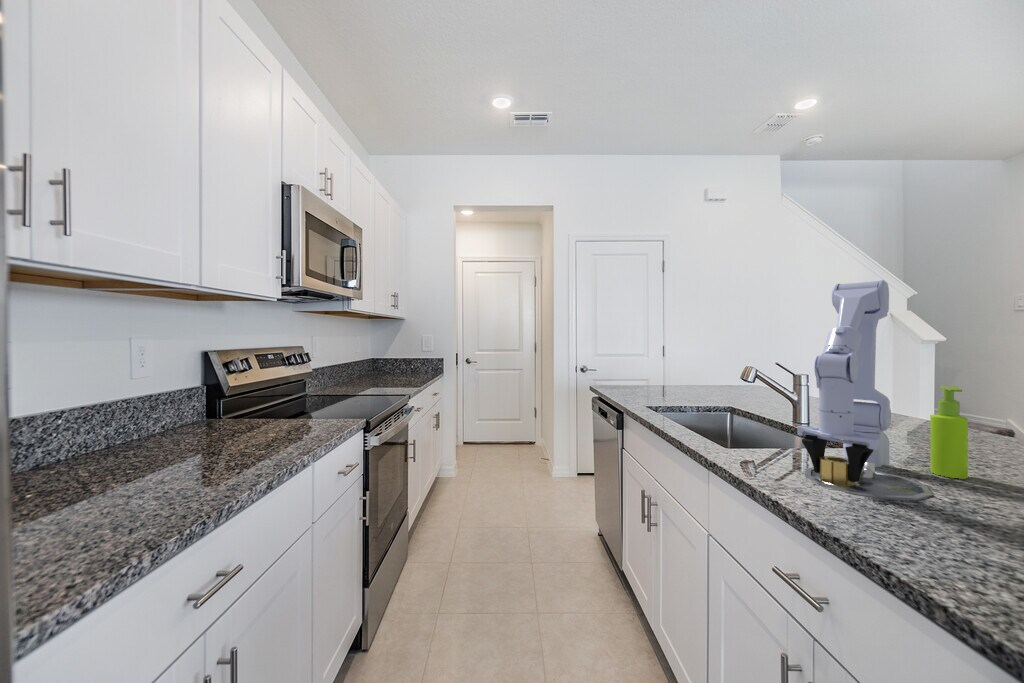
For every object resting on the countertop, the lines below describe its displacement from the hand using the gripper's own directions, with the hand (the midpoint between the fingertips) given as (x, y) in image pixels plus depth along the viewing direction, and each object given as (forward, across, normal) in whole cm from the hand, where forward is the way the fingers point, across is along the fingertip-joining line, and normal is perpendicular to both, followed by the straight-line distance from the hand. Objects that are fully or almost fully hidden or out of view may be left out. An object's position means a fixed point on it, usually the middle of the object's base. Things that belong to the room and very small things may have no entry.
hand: (836, 476), depth 89 cm
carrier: (+2, +3, +5) cm, 6 cm away
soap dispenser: (+2, +7, +31) cm, 31 cm away
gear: (+1, 0, 0) cm, 1 cm away
